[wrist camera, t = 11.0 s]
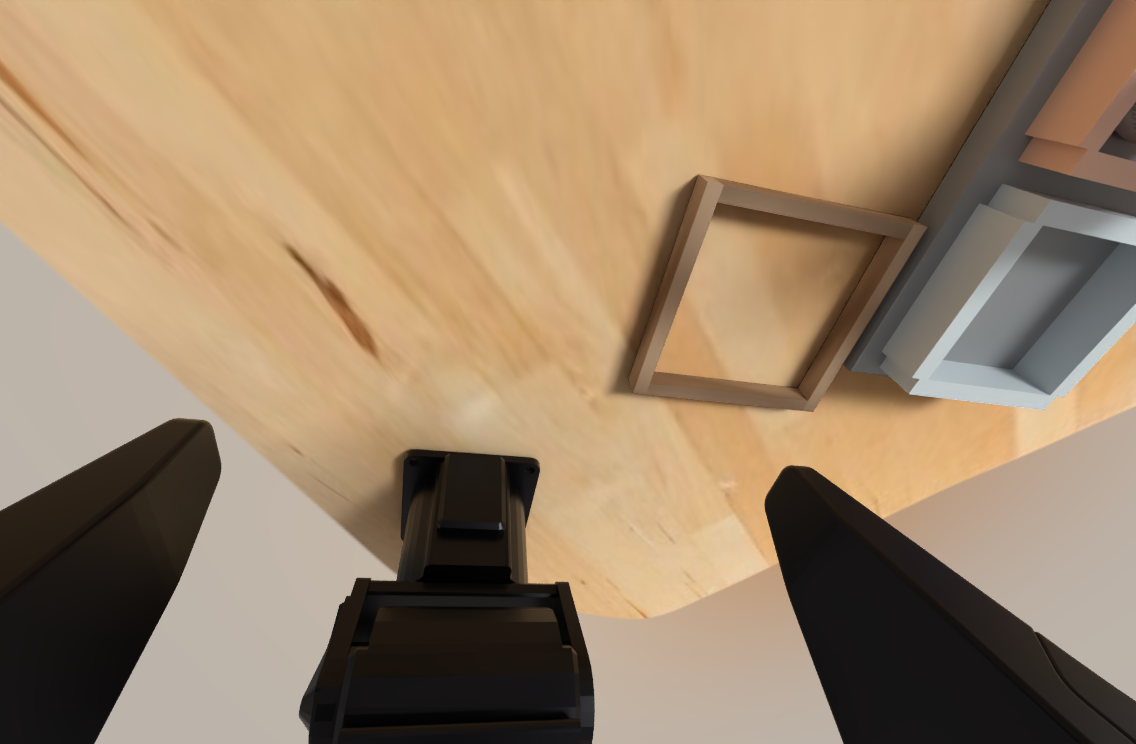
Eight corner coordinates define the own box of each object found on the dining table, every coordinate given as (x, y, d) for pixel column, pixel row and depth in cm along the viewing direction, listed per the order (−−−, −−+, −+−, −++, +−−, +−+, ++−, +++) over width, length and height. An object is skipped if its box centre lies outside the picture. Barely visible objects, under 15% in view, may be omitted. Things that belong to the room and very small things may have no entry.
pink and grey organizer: (1002, 379, 26) (1059, 419, 23) (836, 356, 24) (877, 398, 21) (1387, -76, 16) (1559, -93, 13) (1160, -182, 14) (1313, -228, 11)
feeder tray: (803, 398, 25) (813, 411, 24) (628, 379, 23) (632, 392, 22) (910, 218, 20) (927, 226, 19) (698, 174, 18) (708, 181, 17)
